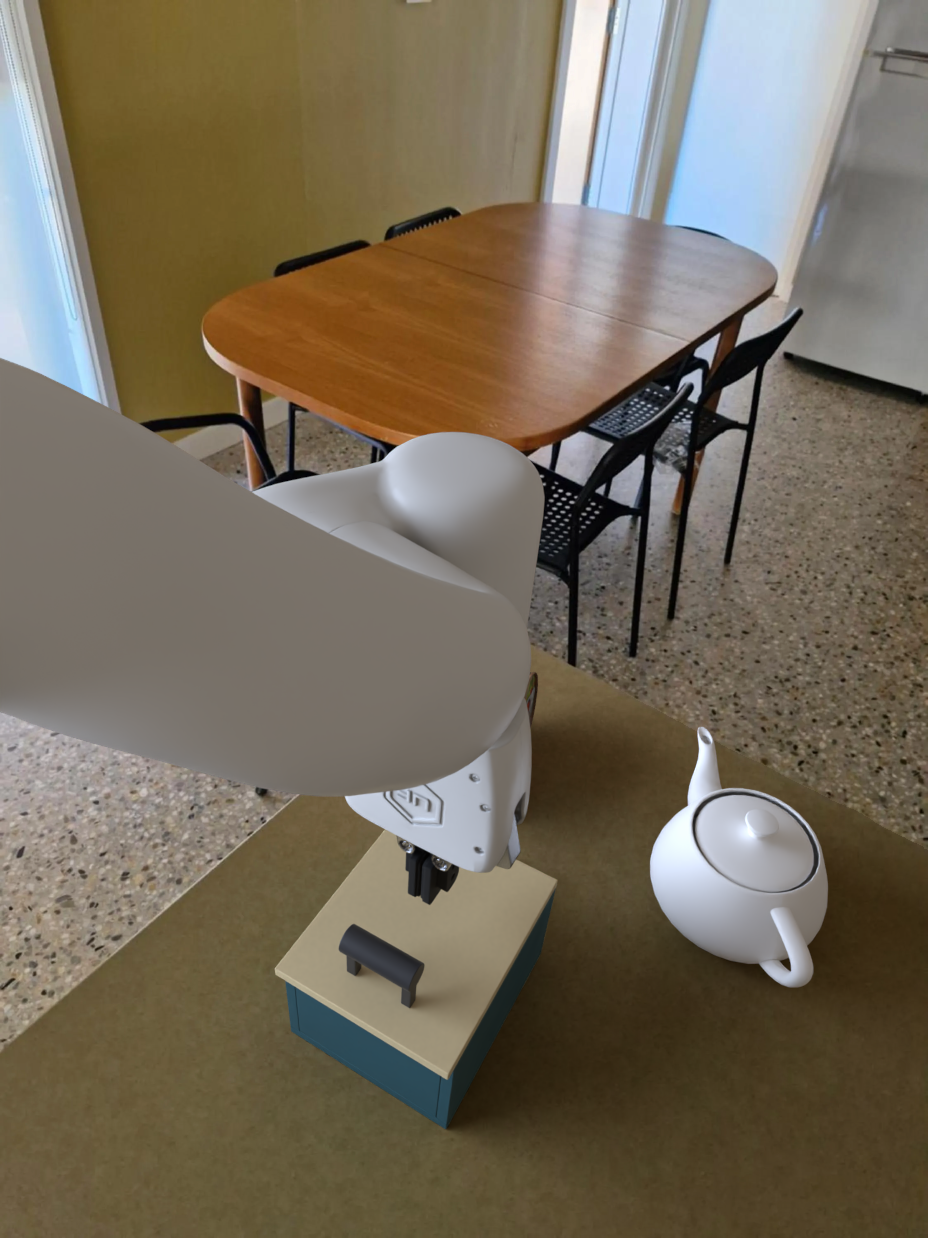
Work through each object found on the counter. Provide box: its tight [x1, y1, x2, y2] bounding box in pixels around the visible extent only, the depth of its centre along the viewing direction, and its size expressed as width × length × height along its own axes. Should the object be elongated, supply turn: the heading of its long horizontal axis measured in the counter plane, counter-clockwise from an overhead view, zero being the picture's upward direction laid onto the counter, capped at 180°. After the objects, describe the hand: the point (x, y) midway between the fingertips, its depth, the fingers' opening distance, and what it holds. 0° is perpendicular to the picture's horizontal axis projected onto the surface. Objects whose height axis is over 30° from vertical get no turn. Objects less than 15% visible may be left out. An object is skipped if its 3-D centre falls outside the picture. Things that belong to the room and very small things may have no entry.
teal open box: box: [284, 887, 557, 1130], centre depth 62 cm, size 15×13×9 cm
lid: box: [274, 829, 558, 1080], centre depth 58 cm, size 15×13×5 cm
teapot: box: [649, 726, 829, 988], centre depth 70 cm, size 22×14×11 cm, turn 8°
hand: (431, 882), depth 57 cm, fingers closed
